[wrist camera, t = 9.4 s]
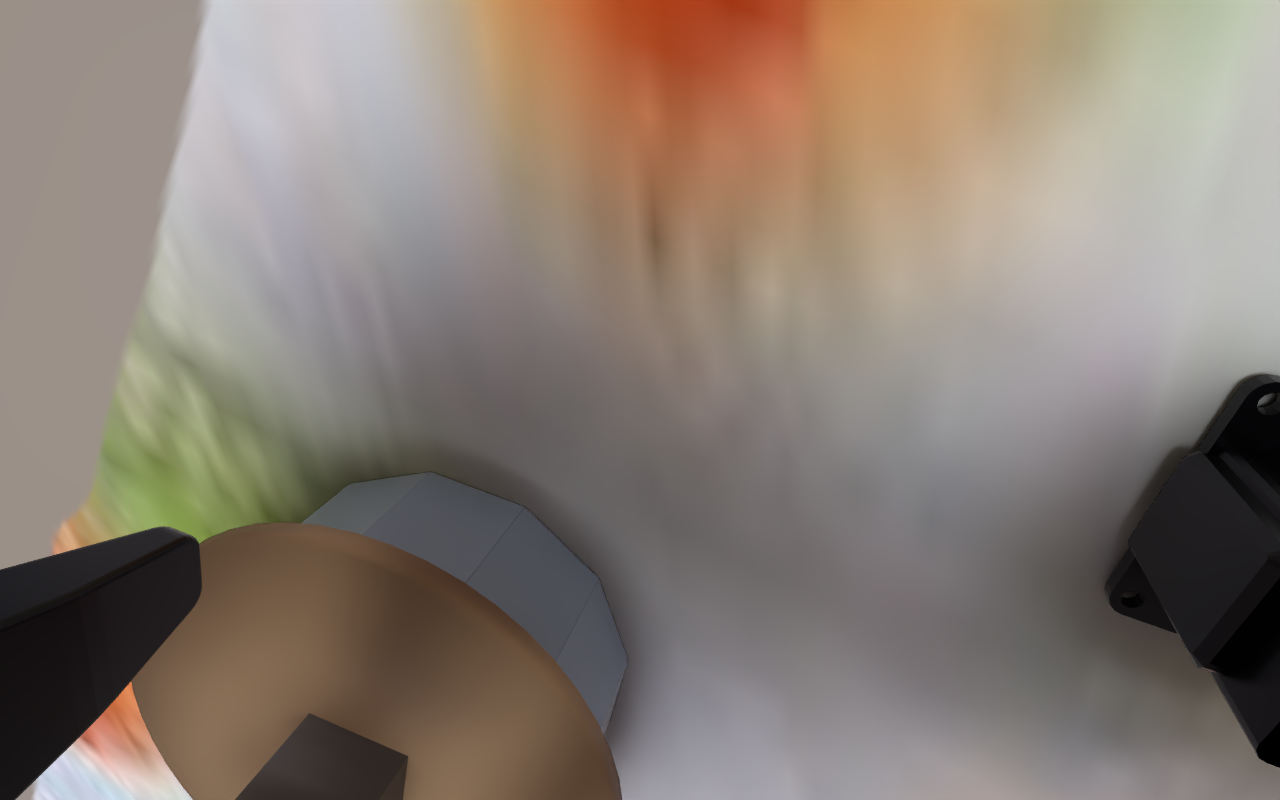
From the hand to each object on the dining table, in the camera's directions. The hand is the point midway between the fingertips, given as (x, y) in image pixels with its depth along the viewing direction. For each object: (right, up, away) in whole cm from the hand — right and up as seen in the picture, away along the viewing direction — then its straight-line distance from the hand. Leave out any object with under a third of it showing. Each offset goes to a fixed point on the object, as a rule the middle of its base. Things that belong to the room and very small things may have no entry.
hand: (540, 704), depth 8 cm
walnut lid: (-7, -7, +13) cm, 16 cm away
